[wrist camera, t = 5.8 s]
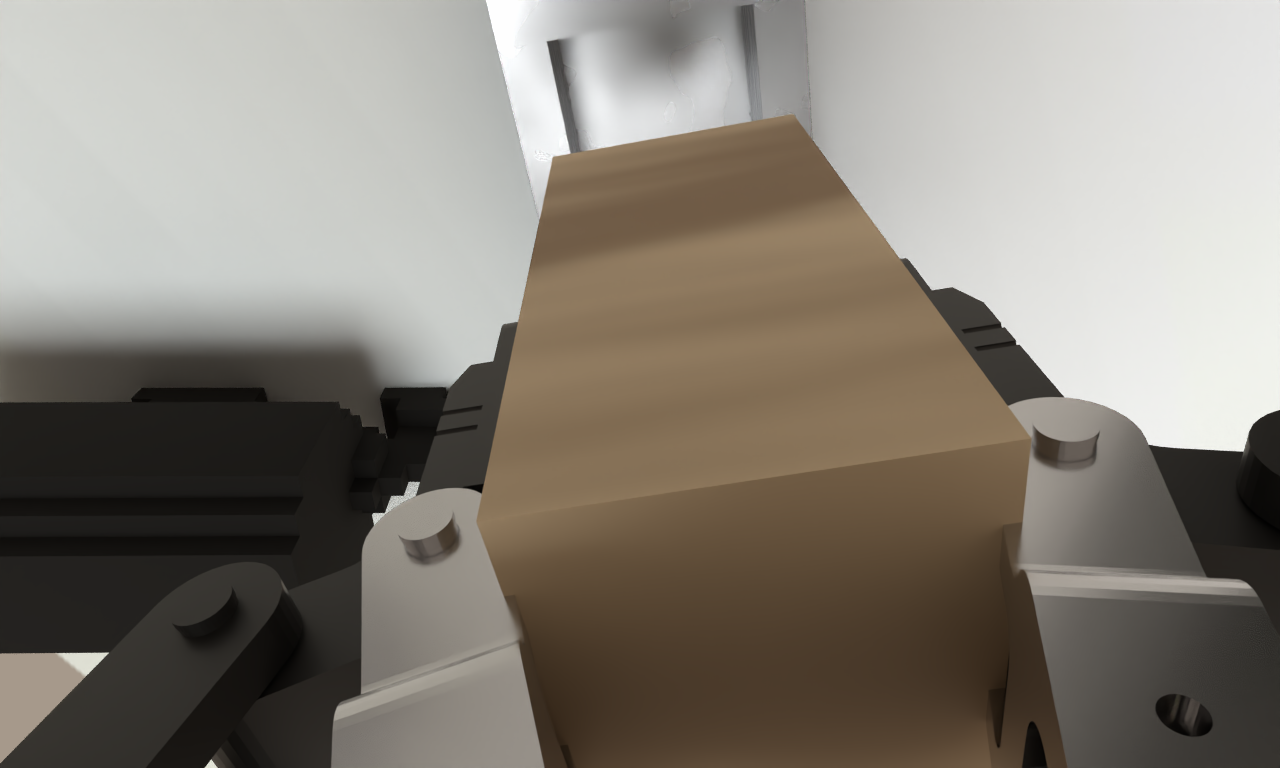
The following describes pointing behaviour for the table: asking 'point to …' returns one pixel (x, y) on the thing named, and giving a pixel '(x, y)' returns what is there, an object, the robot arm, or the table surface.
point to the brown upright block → (747, 471)
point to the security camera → (185, 499)
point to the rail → (645, 70)
